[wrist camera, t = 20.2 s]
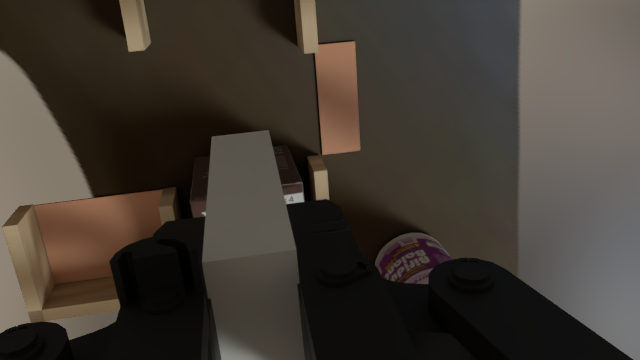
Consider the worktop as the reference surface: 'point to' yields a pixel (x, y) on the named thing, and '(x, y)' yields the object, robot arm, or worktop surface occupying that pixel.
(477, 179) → the worktop surface
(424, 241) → the pill bottle
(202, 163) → the box
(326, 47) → the tray
